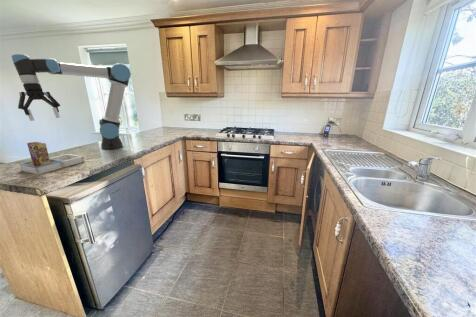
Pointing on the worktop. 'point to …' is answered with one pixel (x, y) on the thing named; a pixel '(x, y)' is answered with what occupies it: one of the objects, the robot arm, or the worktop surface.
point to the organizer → (52, 164)
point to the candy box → (38, 153)
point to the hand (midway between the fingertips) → (45, 119)
